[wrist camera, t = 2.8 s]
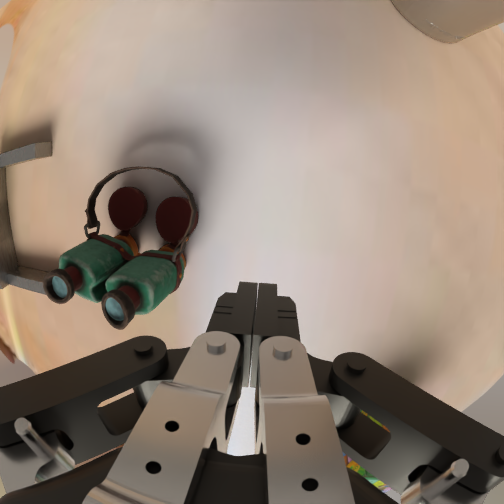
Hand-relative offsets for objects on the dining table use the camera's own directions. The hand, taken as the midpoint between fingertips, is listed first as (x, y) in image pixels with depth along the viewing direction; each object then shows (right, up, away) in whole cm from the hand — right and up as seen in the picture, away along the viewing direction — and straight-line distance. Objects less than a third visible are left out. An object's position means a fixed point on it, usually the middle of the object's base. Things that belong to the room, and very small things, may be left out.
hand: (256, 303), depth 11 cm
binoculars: (-9, +5, +11) cm, 15 cm away
